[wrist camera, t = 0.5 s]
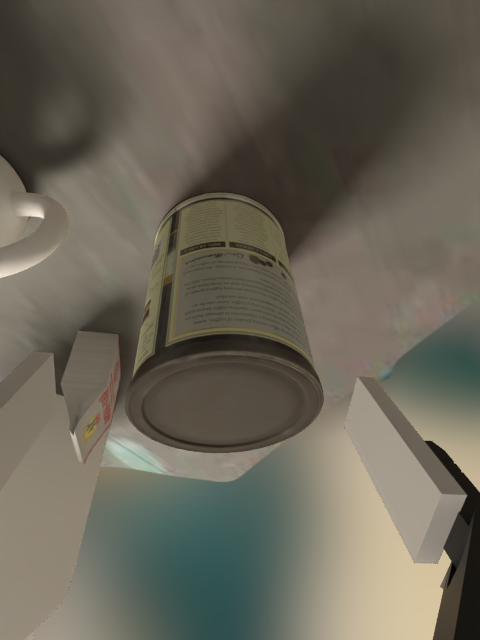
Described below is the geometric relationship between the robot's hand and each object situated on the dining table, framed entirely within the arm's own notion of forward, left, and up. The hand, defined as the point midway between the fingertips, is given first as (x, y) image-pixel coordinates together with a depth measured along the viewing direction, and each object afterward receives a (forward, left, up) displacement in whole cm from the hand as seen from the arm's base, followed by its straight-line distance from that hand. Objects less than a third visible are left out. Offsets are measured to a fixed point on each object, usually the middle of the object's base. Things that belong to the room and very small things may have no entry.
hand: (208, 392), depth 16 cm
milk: (+30, -20, -15) cm, 39 cm away
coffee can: (+4, +1, -15) cm, 16 cm away
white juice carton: (+17, -11, -15) cm, 25 cm away
